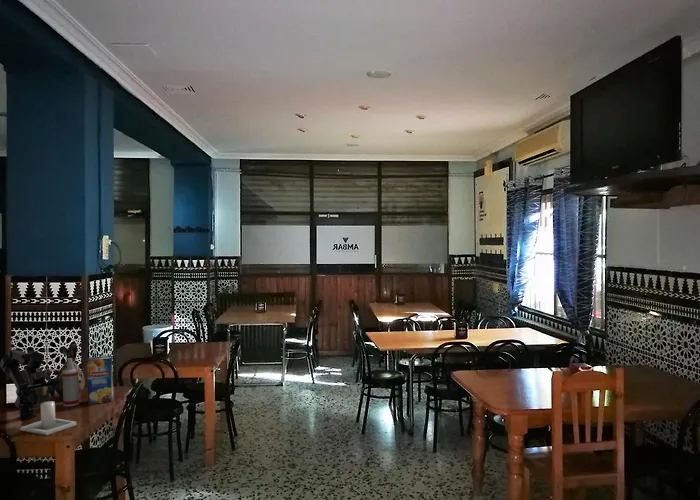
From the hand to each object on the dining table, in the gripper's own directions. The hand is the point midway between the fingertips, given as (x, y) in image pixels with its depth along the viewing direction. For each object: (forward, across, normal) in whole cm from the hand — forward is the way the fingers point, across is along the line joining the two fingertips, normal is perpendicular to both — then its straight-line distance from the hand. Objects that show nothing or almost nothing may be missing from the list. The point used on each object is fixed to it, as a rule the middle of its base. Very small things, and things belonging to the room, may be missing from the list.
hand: (43, 400), depth 281 cm
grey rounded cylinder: (+11, 0, +5) cm, 12 cm away
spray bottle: (-12, +25, +29) cm, 40 cm away
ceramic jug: (-23, +32, +41) cm, 57 cm away
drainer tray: (+12, 0, +5) cm, 13 cm away
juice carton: (-7, +38, +24) cm, 46 cm away
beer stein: (-21, +13, +39) cm, 46 cm away
